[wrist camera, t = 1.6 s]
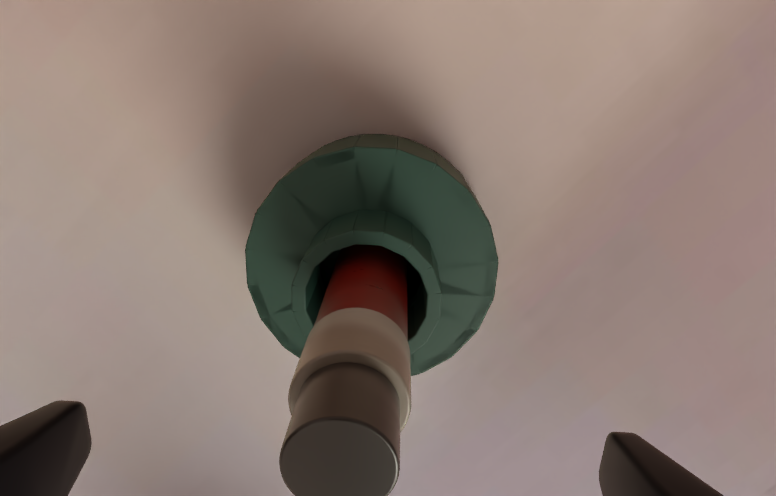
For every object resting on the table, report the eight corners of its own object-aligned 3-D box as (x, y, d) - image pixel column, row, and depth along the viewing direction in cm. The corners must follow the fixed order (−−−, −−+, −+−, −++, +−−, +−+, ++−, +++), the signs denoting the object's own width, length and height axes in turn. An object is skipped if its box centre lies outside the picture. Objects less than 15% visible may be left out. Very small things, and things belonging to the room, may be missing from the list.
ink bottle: (471, 341, 20) (492, 428, 15) (273, 330, 20) (232, 413, 15) (494, 139, 17) (528, 167, 12) (266, 128, 17) (214, 152, 12)
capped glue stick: (406, 277, 18) (408, 528, 8) (342, 274, 18) (268, 520, 8) (410, 215, 18) (416, 411, 8) (342, 212, 18) (262, 402, 8)
